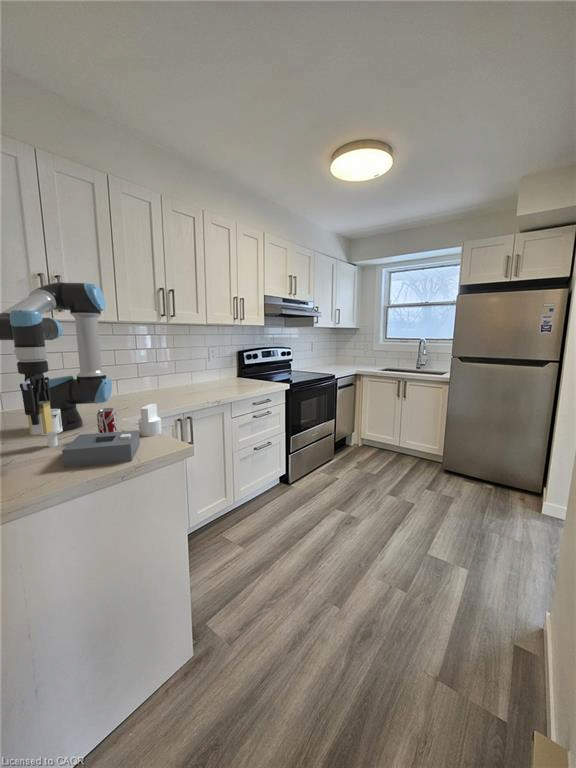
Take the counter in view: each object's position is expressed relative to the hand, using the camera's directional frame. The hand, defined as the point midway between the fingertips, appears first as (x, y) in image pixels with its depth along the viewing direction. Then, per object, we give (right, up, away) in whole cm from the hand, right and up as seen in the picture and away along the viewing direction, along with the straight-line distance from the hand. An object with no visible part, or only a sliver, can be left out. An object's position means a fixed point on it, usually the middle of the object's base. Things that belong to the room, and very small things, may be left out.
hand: (42, 431), depth 102 cm
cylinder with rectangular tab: (+21, -6, +34) cm, 40 cm away
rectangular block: (0, 0, 0) cm, 0 cm away
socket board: (+16, -10, +9) cm, 21 cm away
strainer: (-10, -9, +18) cm, 22 cm away
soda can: (+6, -7, +28) cm, 29 cm away
